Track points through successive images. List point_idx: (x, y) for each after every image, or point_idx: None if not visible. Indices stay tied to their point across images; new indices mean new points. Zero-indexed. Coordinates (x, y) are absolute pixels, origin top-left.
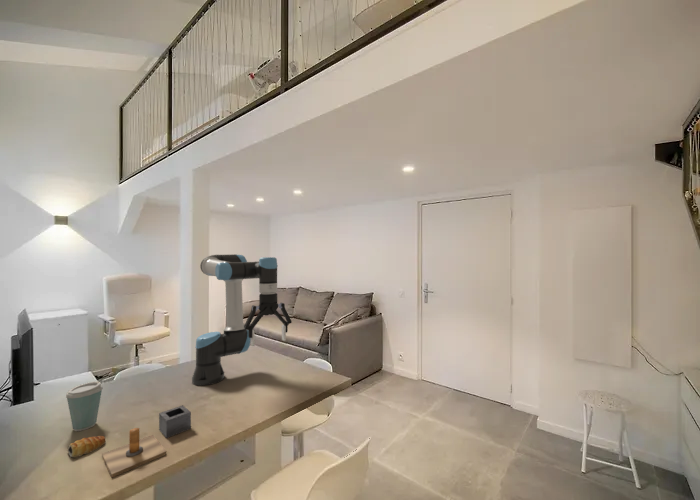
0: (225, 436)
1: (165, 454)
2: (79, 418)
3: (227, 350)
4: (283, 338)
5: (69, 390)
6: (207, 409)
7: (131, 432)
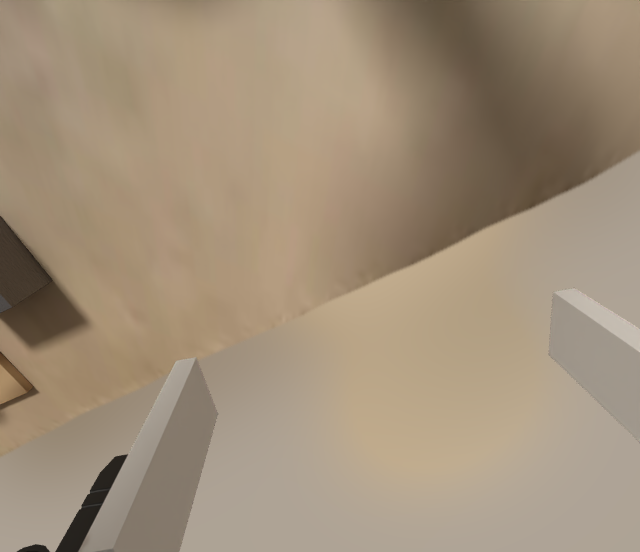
0: None
1: (31, 388)
2: None
3: None
4: (566, 355)
5: None
6: (69, 145)
7: None
